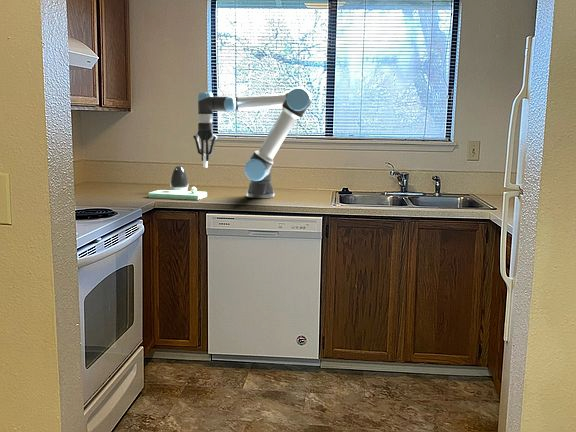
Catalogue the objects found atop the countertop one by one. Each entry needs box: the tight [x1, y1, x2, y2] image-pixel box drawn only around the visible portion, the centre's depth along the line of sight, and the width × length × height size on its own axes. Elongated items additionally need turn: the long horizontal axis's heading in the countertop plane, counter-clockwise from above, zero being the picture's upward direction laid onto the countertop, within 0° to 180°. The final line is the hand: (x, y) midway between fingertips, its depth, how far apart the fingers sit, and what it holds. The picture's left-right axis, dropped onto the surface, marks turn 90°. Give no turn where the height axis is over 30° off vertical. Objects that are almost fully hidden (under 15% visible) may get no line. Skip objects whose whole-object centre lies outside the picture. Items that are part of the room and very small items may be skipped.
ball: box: [189, 186, 198, 193], centre depth 318 cm, size 3×3×3 cm
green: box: [147, 189, 208, 201], centre depth 320 cm, size 28×14×2 cm, turn 78°
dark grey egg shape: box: [169, 165, 190, 191], centre depth 336 cm, size 10×10×15 cm
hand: (205, 167), depth 314 cm, fingers closed
